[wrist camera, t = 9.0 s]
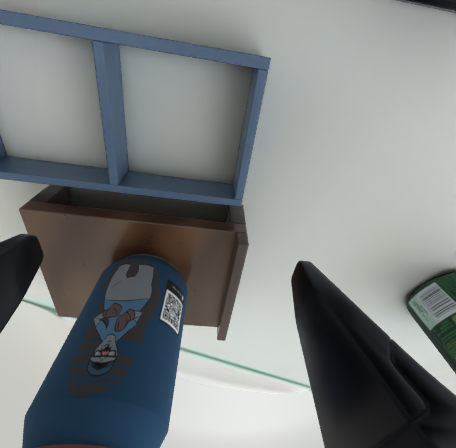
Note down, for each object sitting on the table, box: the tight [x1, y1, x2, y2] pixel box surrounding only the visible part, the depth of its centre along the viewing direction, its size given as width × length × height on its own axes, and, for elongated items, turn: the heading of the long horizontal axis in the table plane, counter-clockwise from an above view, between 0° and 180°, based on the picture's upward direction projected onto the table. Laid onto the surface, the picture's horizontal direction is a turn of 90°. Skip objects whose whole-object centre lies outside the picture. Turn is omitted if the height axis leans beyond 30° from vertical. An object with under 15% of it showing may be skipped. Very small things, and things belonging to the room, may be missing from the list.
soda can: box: [22, 254, 188, 448], centre depth 16 cm, size 7×7×12 cm
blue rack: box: [0, 10, 271, 206], centre depth 17 cm, size 19×10×3 cm, turn 82°
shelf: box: [19, 185, 249, 340], centre depth 23 cm, size 16×12×6 cm
